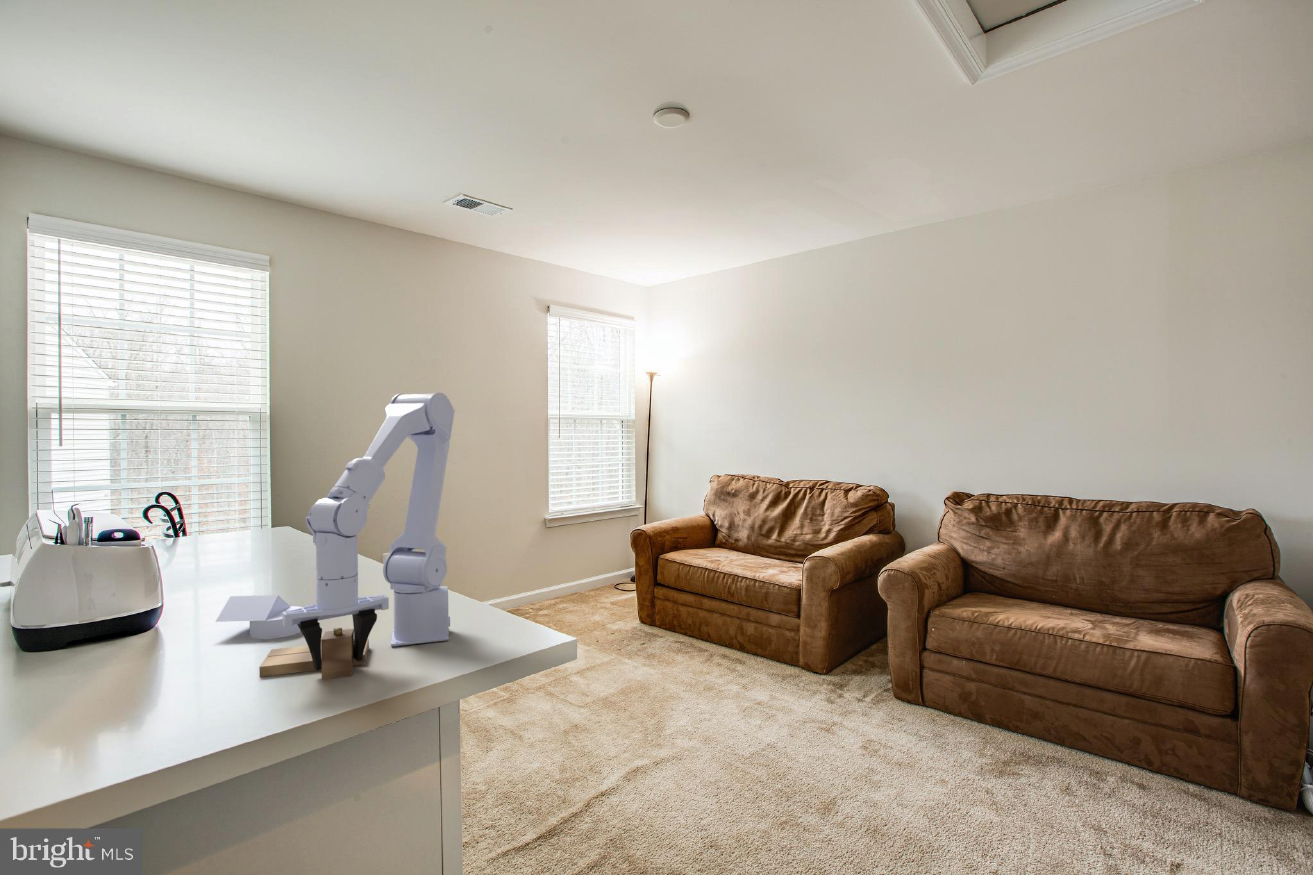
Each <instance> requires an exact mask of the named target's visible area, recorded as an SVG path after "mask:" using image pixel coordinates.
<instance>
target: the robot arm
mask: <svg viewBox="0 0 1313 875" xmlns="http://www.w3.org/2000/svg"><path fill="white" fill-rule="evenodd" d="M455 411H456V410H455V409H454V406H453V404H452V403H451V401H450V399H449V397H448V396H447V395H446V394H444V393H443V392H434V393H407V394H406V393H397V394H395V395H394V396H393V397H392V398H391V400H390V402H389V403H388V405H386V407H385V408H384V412H385V413H384V414H385V419H384V422H382V425H381V426H380V428H379V429H378V432H377V433H376V435H375V437H374V439H373V440H372V442H371V444H370V445H369V447H368V449H367V450H366V453H365V454H364V455H363V457H359V458H354V459H353V460H351V461H349V462H348V463H347V464H346V465H345V467H344V468H345V470H344V471H343V472H342V474H341V476H340V477H339V478H338V480H337V481H336V482H335V484H334V486H333V487H331V489H330V490H329V493H328V494H327V495H326V497H322V498H321V499H318V500H317V501H316V502H315V503H314V504H312V506H311V508H310V509H309V512H308V516H307V517H305V525H306V527H307V529H308V530H309V532H310V533H311V535H312V543H313V544H314V546H315V568H316V569H315V577H316V579H315V580H316V583H315V584H316V586H315V587H316V590H315V592H316V604H311V605H307V606H302V607H303V608H299V609H295V610H290V611H285V612H282V624H283V626H284V627H285V628H287V627H292V626H293V625H296V624H297V625H298V627H299V629H300V630H301V632H300V633H301V634H302V636H303V638H304V640H305V642H306V644H307V645H306V646H308V647H309V650H310V653H311V656H312V661H313V667H314V668H315V670H314V671H316V672H317V671H322V659H321V640H322V637H323V636H322V635H323V634H322V633H323V628H322V627H321V623H320V622H319V621H323V620H329V619H333V618H340V617H346V616H351V615H352V616H351V617H352V623H353V629H354V658H355V659H356V660H357V661H362V658H363V653H364V649H365V645H366V642H367V639H369V636H370V634H371V632H372V629H373V628H374V626H375V624H376V622H377V620H378V614H377V613H376V611H378V610H379V611H380V610H381V611H386V610H389V608H390V606H389V603H390V600H389V597H388V596H387V595H385V594H381V595H375V596H373V595H372V596H365V597H364V596H362V597H359V564H358V563H359V562H358V561H359V559H358V558H359V556H358V554H359V552H358V551H359V549H358V548H359V545H358V543H359V542H358V540H359V539H358V534H359V533H360V532H361V531H362V530H363V529H364V528H365V526H366V524H367V520H368V511H369V508H370V502H371V500H372V499H373V498H374V496H375V494H376V493H377V491H378V490H379V488H380V486H381V485H382V484H383V483H384V480H385V478H386V473H385V468H384V467H385V466H386V465H387V463H389V460H390V459H391V458H392V457H393V456H394V454H395V453H396V452H397V450H398V449H399V448H400V446H401V445H402V444H403V443H404V441H405V440H406V439H409V440H410V441H412V442H414V444H415V446H416V447H417V452H416V457H415V463H414V470H413V476H412V480H411V481H412V482H411V488H410V493H409V494H410V495H409V500H408V506H407V511H406V517H405V523H404V530H403V533H401V535H399V536H398V537H396V538H395V539H394V540H393V541H392V542H391V544H390V549H389V552H388V555H386V558H385V559H384V562H383V566H382V573H383V577H384V579H385V581H386V582H387V583H388V584H389V585H390V586H389V588H390V590H392V591H393V630H392V633H391V641H390V647H398V646H399V647H400V646H408V645H416V644H425V643H435V642H442V641H444V642H445V641H449V639H450V637H449V636H450V634H449V628H450V627H451V616H449V587H448V586H447V585H441V584H442V583H443V582H444V580H445V577H446V575H447V573H448V572H447V571H448V570H447V569H448V567H447V566H448V564H447V558H446V553H447V546H446V545H445V543H443V542H442V541H441V540H440V539H439V538H438V537H437V536H436V533H437V525H438V520H439V519H438V518H439V513H440V506H441V500H442V494H443V489H444V488H443V487H444V483H445V482H444V481H445V475H446V469H447V462H448V457H449V456H448V455H449V449H450V440H451V436H452V430H453V424H454V418H455V417H454V416H455ZM413 550H414V551H413ZM415 550H422V551H415Z"/></svg>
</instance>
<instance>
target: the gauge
mask: <svg viewBox="0 0 1313 875" xmlns="http://www.w3.org/2000/svg"><path fill="white" fill-rule="evenodd" d="M322 635H323V636H321V652H322V669H321V680H330V679H337V678H344V677H352V674H353V672H354V669H355V665H354V628H350V629H349V628H348V629H343V627H337V628H333V630H328V631H324V634H322Z"/></svg>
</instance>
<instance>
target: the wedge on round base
mask: <svg viewBox="0 0 1313 875" xmlns="http://www.w3.org/2000/svg"><path fill="white" fill-rule="evenodd" d="M303 607H304V606H293V605H290V604H289V603H288V602H287V601H286V600H284V599H283V598H282V597H281V596H280V595H278V594H269V595H268V594H267V595H231V596H229V598H228V599H227V601H226V603H225V604H224V606H223V608H222V609H221V611H220V613H219V615H218V616H217V618H216V620H215V623H218V622H219V623H220V622H221V623H223V622H249V637H250V638H252V639H258V640H270V639H272V640H273V639H279V638H284V637H285V638H286V637H289V636H293V635H296V634H299V633H302V632H301V630H300V629H299V627H298V625H297V624H296V625H293V626H292V627H287V628H285V627H284V626H283V624H282V612H285V611H290V610H295V609H299V608H303Z"/></svg>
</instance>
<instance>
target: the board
mask: <svg viewBox="0 0 1313 875" xmlns="http://www.w3.org/2000/svg"><path fill="white" fill-rule="evenodd" d="M369 649H370V640H369V638H368V639H367V642H366V645H365V649H364V653H363V658H362V661H357V660H356V659H355V658H354V666H358V665H365V664H366V660H367V656H368V653H369ZM321 659H322V652H321ZM308 671H309V672H310V671H311V672H312V671H316V670H315V668H314V667H313V661H312V656H311V653H310V650H309V647H308V645H300V646H299V645H298V646H291V647H282V648H272V649H271V650H270V651H269V652H268V654H267V656H266V657H265V658H264V660H263V661H262V663H261V664H260V665H259V677H260V678H261V677H268V676H277V675H284V674H293V673H302V672H308Z"/></svg>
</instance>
